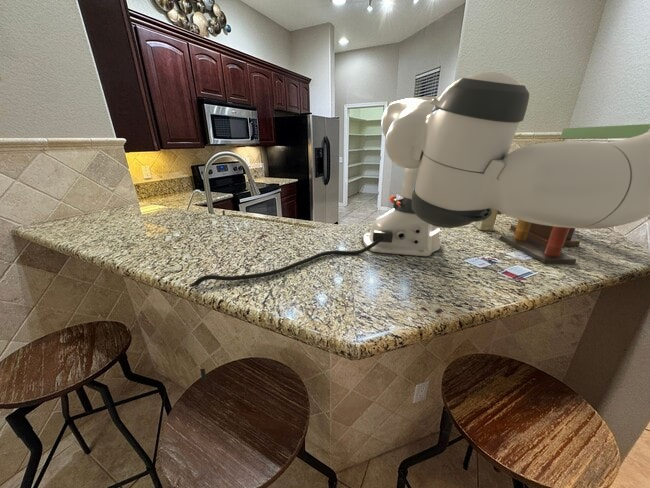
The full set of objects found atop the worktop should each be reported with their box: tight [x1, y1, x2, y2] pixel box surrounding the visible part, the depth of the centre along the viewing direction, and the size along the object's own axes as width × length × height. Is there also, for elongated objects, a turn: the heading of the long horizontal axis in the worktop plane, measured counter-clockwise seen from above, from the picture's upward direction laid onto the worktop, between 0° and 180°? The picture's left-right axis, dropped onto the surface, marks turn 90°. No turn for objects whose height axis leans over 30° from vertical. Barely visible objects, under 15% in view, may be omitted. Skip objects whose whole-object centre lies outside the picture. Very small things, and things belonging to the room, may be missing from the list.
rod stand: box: [499, 219, 577, 265], centre depth 72 cm, size 8×18×16 cm, turn 0°
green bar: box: [559, 123, 650, 139], centre depth 61 cm, size 3×26×2 cm, turn 1°
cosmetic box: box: [474, 208, 499, 232], centre depth 91 cm, size 6×4×12 cm
